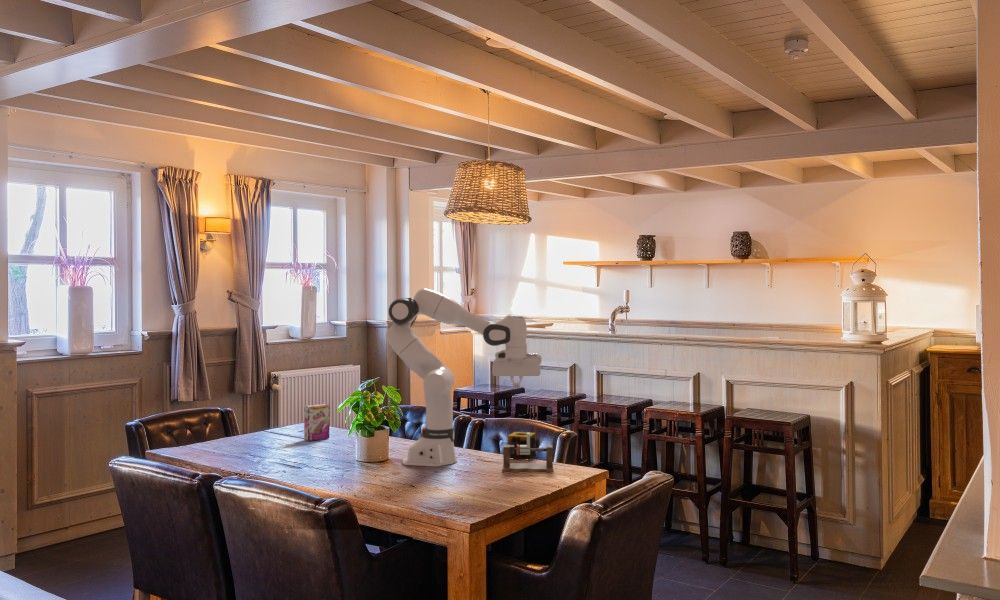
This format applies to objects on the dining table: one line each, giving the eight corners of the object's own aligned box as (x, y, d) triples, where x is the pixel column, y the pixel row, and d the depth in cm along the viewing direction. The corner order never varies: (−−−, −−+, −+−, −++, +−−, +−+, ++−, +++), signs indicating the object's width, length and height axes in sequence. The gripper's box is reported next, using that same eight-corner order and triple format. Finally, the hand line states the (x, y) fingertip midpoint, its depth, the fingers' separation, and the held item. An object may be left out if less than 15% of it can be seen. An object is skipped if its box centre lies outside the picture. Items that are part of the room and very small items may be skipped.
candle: (530, 460, 334) (529, 437, 334) (507, 459, 337) (506, 435, 337) (536, 455, 344) (536, 432, 343) (514, 454, 347) (514, 431, 347)
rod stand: (502, 472, 313) (502, 447, 313) (503, 466, 323) (503, 442, 322) (553, 472, 312) (553, 447, 311) (553, 467, 322) (553, 442, 321)
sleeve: (519, 454, 316) (519, 433, 315) (520, 452, 319) (519, 432, 319) (529, 454, 315) (529, 434, 315) (530, 452, 319) (529, 432, 318)
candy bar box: (308, 441, 376) (308, 407, 376) (303, 440, 380) (303, 405, 380) (330, 438, 383) (329, 404, 383) (325, 437, 387) (324, 403, 387)
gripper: (541, 352, 334) (541, 385, 334) (492, 353, 335) (492, 385, 335) (541, 354, 328) (541, 387, 328) (491, 354, 329) (491, 387, 329)
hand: (516, 386), depth 332 cm, fingers closed
